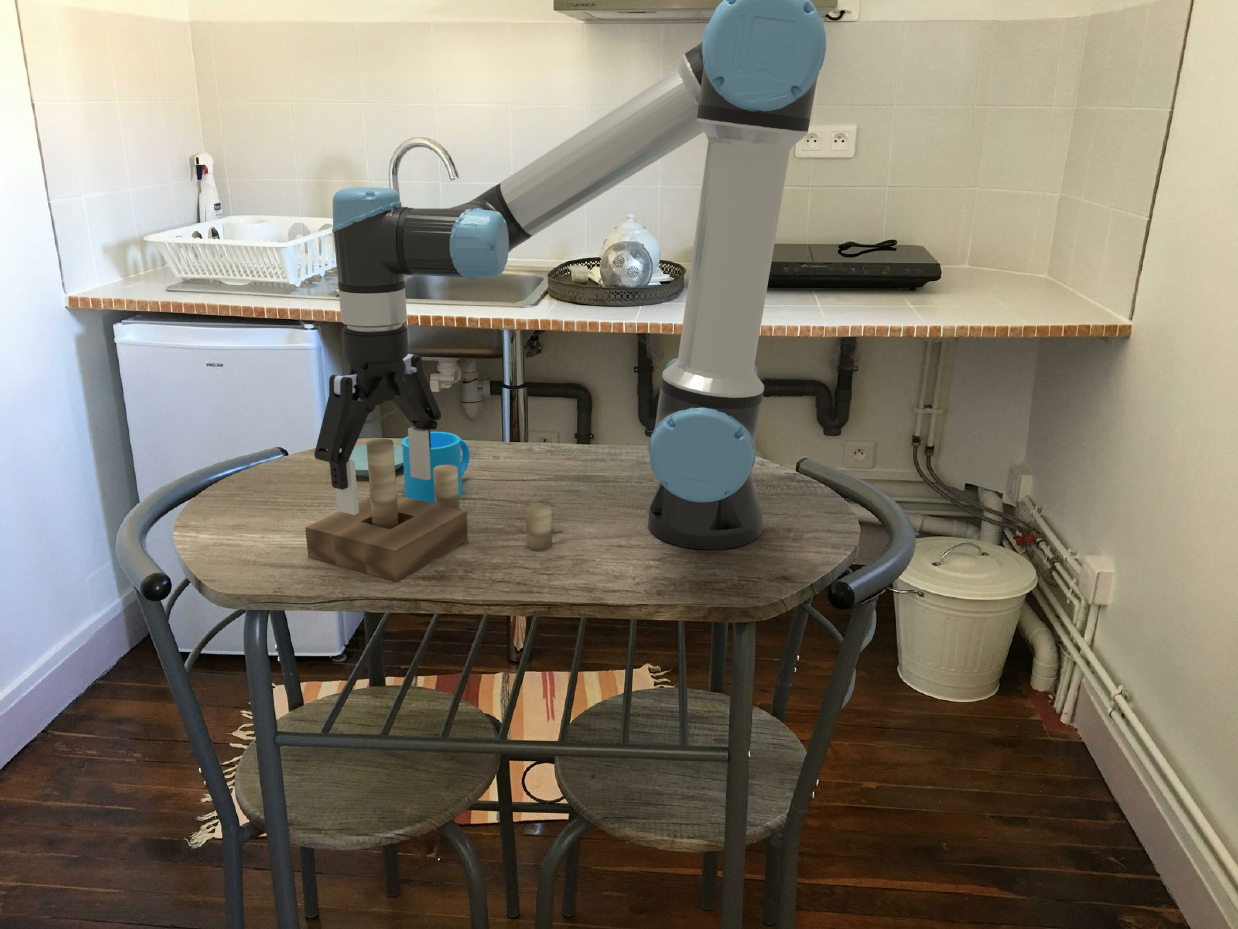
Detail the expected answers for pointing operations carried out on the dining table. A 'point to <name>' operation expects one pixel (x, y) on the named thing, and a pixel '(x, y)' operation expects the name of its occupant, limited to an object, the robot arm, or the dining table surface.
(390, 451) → the dowel long
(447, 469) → the dowel mid
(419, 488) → the mug
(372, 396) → the robot arm
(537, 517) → the dowel short
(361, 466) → the saucer
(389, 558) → the collar block
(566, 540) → the dining table surface
